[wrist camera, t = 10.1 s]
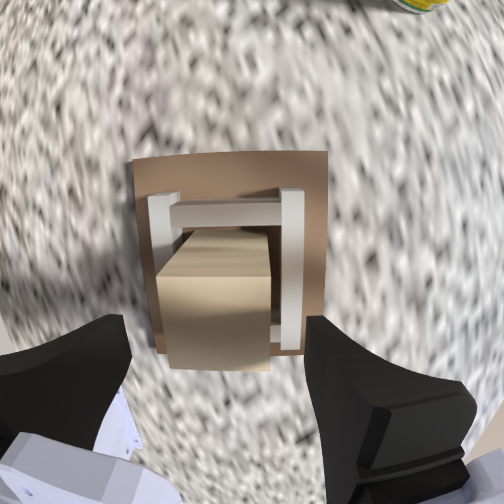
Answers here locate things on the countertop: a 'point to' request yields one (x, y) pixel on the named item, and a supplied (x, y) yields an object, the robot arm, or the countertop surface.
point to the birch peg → (218, 302)
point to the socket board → (241, 224)
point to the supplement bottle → (421, 5)
